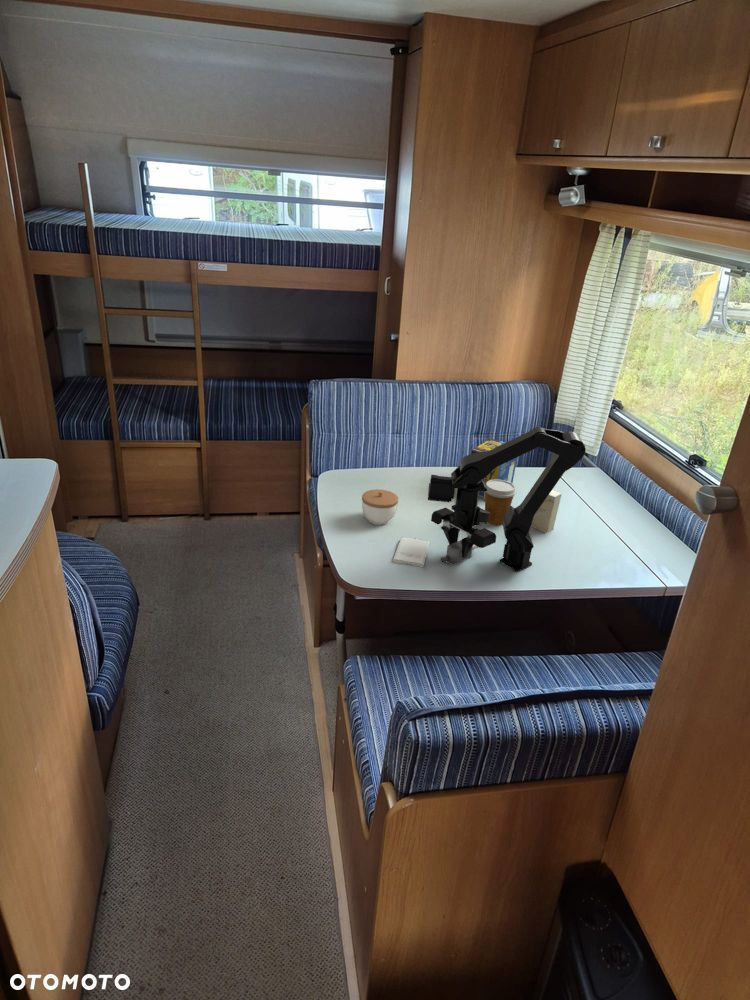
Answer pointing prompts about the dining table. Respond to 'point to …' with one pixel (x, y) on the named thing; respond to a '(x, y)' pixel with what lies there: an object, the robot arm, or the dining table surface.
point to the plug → (456, 553)
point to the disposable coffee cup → (498, 499)
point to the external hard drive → (411, 551)
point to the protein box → (501, 471)
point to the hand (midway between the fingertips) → (459, 554)
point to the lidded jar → (379, 506)
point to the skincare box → (547, 512)
